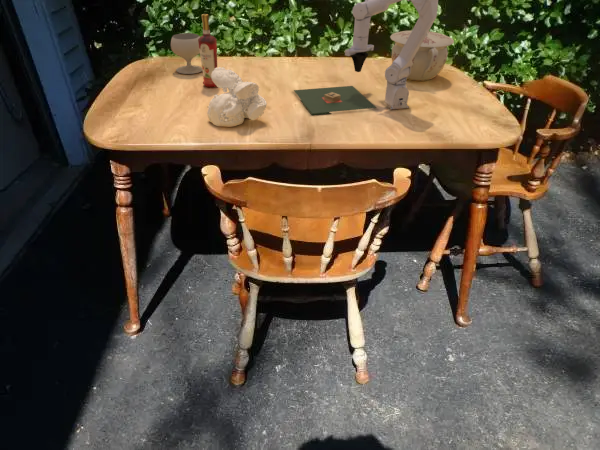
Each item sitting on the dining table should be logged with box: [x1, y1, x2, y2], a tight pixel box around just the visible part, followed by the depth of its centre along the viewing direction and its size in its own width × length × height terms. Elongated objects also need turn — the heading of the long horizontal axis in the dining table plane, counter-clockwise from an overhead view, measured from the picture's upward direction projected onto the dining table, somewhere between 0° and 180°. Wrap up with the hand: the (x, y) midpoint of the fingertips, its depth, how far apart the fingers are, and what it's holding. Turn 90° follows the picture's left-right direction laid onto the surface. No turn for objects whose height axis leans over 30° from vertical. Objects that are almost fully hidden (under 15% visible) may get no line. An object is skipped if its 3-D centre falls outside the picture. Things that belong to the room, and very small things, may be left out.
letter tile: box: [324, 92, 340, 103], centre depth 186 cm, size 4×4×2 cm
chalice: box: [170, 32, 203, 75], centre depth 212 cm, size 14×14×15 cm
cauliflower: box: [206, 66, 268, 128], centre depth 167 cm, size 19×20×20 cm
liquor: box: [198, 13, 218, 88], centre depth 192 cm, size 7×7×28 cm
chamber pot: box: [389, 29, 455, 82], centre depth 210 cm, size 28×28×21 cm
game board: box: [293, 85, 377, 116], centre depth 188 cm, size 26×26×1 cm
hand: (357, 71), depth 190 cm, fingers closed
